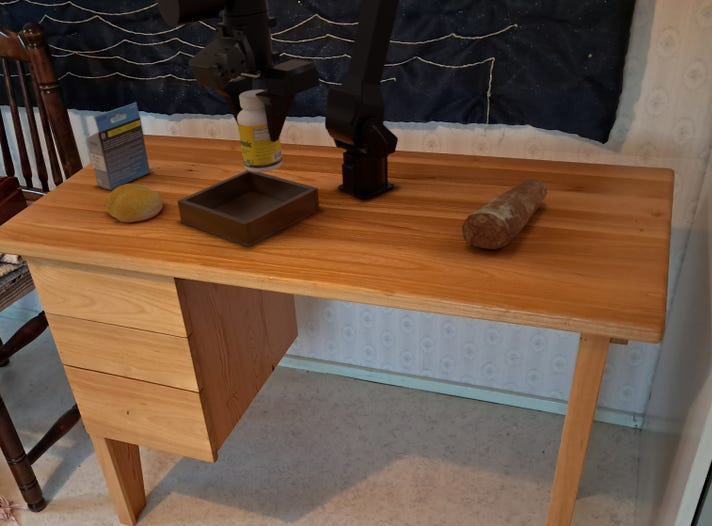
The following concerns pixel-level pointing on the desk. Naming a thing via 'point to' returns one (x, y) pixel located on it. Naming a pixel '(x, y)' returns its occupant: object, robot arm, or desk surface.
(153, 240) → the desk surface
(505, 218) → the salami
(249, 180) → the tray
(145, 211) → the bread roll
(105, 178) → the label tape box
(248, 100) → the supplement bottle
